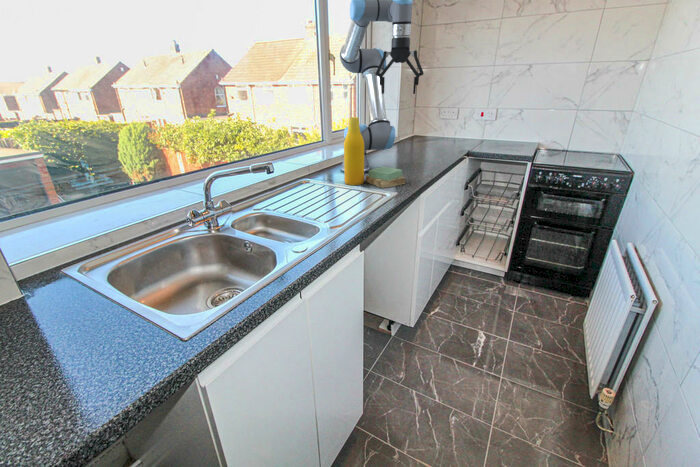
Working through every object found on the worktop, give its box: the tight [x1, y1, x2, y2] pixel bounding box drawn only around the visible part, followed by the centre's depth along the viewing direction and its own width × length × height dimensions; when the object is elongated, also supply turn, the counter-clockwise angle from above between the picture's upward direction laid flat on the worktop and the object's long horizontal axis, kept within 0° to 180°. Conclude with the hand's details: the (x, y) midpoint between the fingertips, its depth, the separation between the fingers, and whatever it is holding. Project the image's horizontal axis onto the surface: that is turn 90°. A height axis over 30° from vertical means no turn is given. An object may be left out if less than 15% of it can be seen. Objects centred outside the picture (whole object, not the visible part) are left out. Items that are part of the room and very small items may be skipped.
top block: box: [368, 166, 403, 181], centre depth 151 cm, size 11×11×3 cm
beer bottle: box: [343, 116, 365, 186], centre depth 148 cm, size 9×9×29 cm
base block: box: [365, 174, 406, 189], centre depth 153 cm, size 13×13×3 cm
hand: (398, 93), depth 144 cm, fingers open, 13 cm apart
